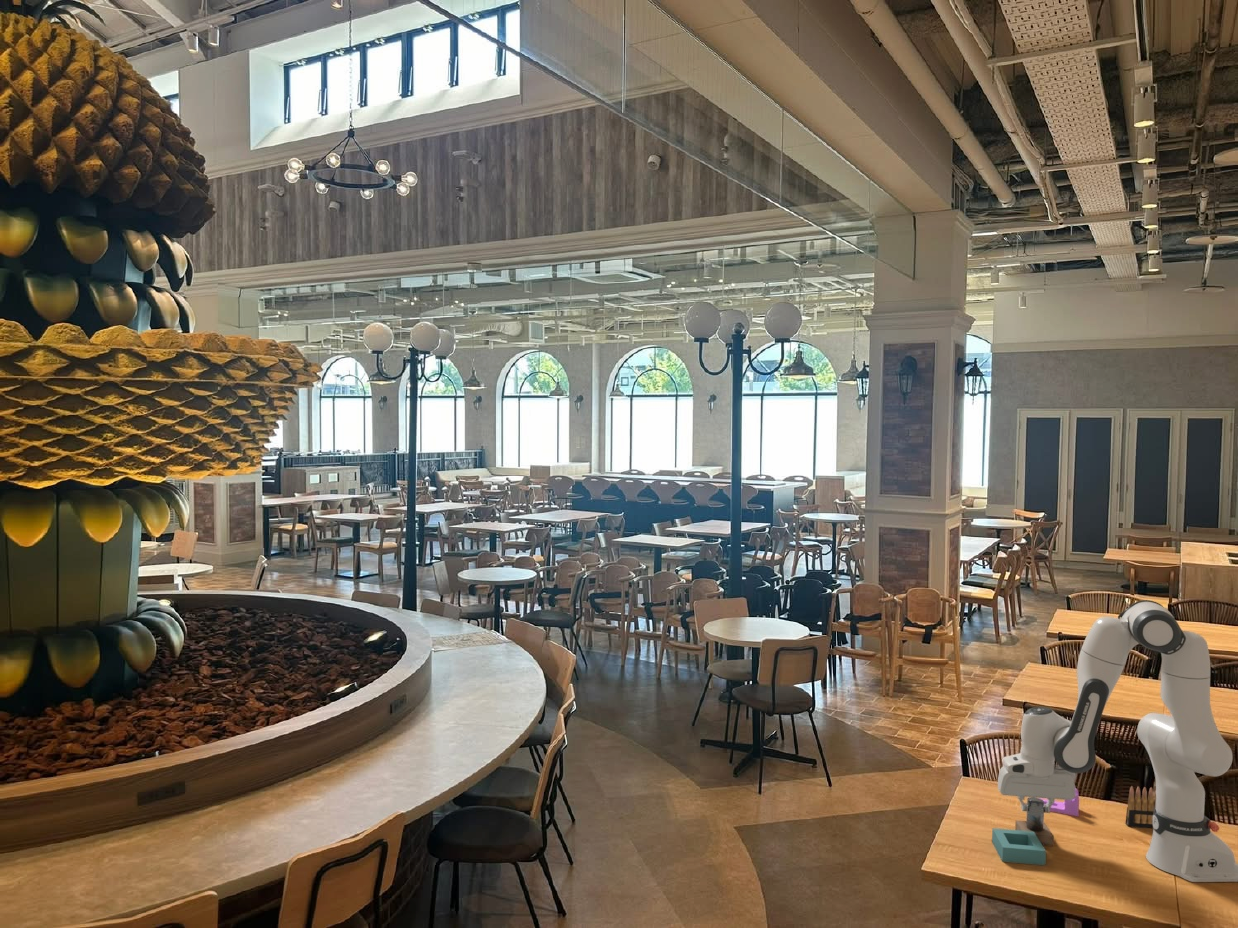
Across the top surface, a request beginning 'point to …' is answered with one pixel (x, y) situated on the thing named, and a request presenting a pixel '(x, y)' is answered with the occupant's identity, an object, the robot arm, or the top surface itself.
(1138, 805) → the ammunition clip
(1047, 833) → the wooden block
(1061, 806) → the bracket
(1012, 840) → the hole block
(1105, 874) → the top surface
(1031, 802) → the grey cylinder
